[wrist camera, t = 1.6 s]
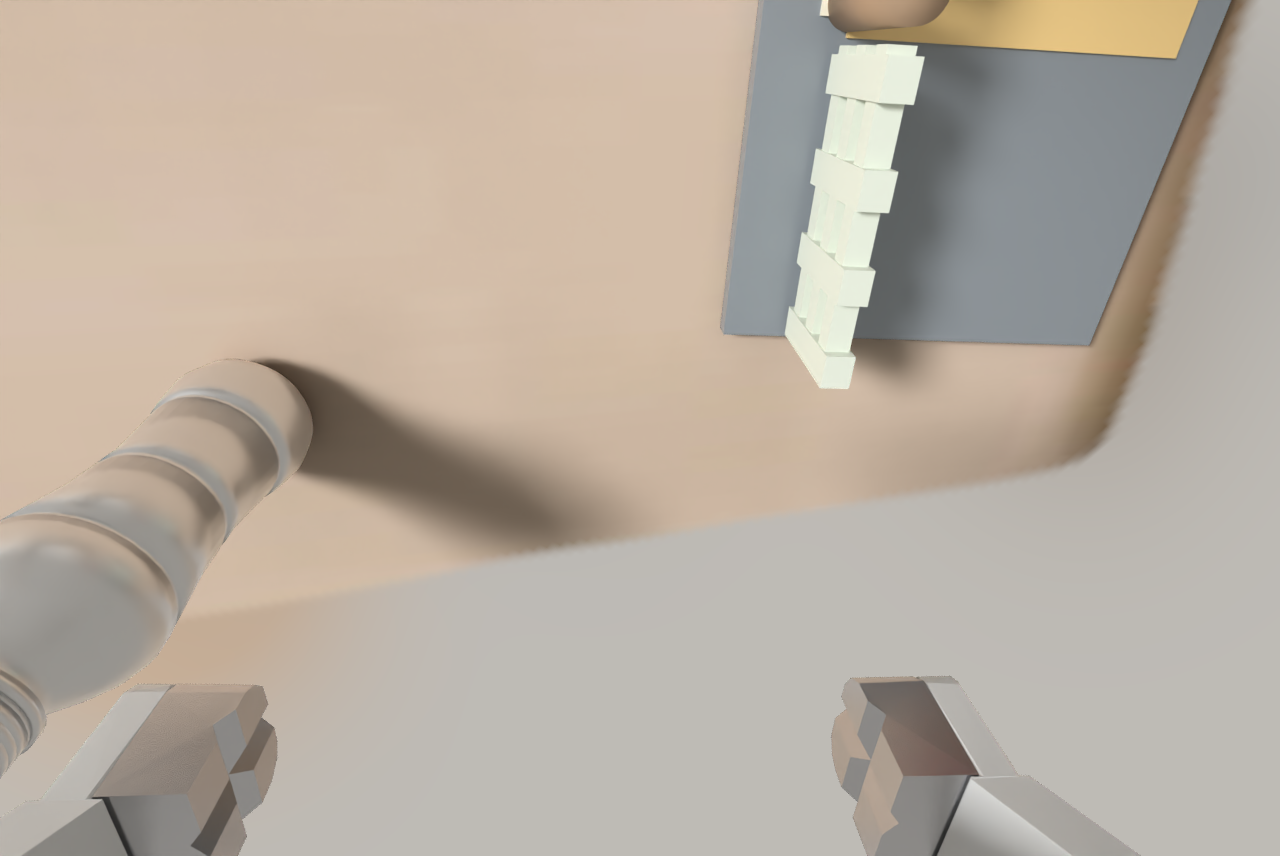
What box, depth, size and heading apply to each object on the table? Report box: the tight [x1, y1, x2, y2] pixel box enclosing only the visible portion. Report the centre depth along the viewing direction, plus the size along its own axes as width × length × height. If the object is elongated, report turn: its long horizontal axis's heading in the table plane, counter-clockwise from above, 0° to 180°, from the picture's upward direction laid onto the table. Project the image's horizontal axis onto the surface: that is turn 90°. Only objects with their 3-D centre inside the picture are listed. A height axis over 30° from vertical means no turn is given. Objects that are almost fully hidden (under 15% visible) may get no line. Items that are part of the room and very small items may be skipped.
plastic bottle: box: [0, 359, 313, 778], centre depth 26 cm, size 6×7×20 cm
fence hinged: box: [785, 44, 925, 389], centre depth 27 cm, size 12×1×6 cm, turn 177°
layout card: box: [720, 0, 1231, 345], centre depth 27 cm, size 28×19×1 cm
